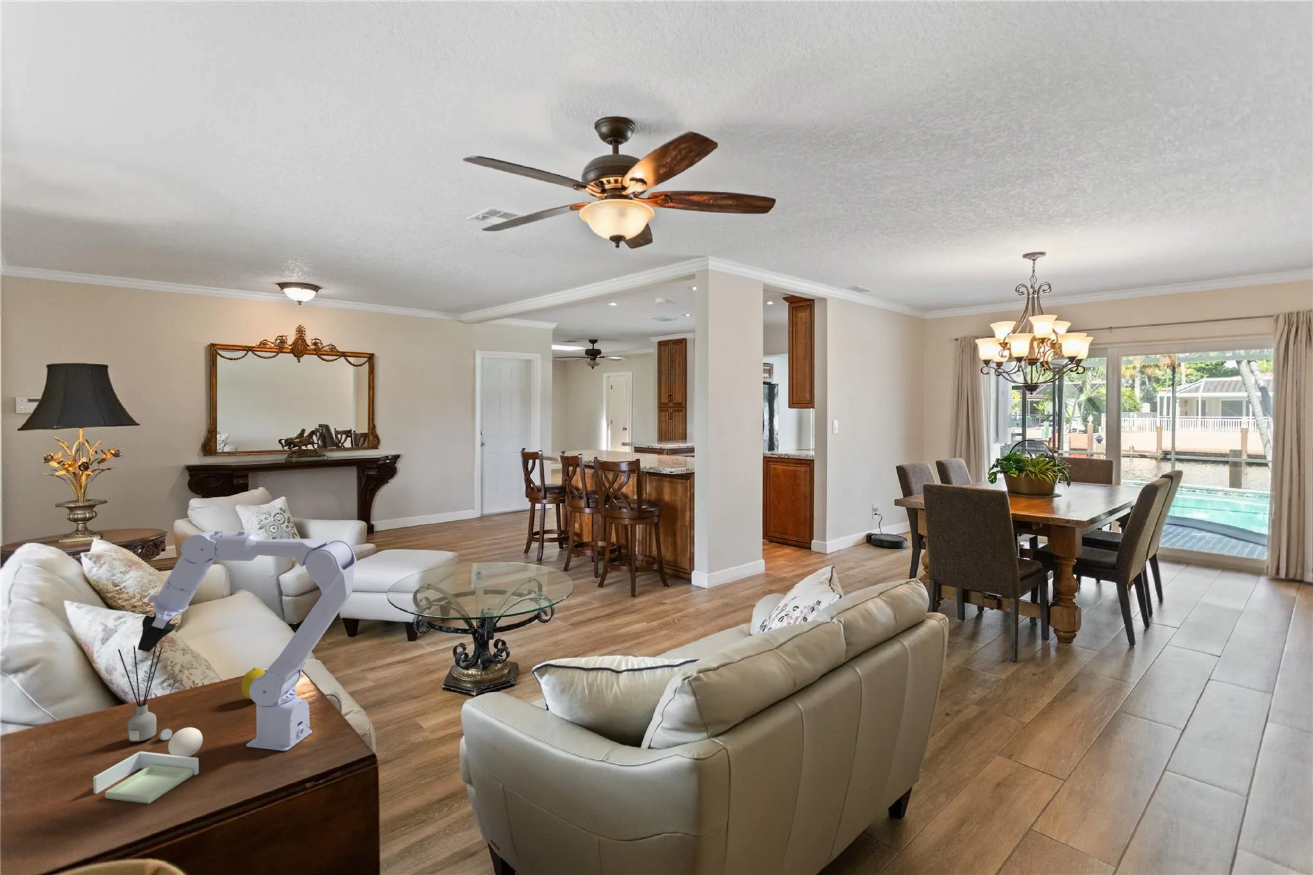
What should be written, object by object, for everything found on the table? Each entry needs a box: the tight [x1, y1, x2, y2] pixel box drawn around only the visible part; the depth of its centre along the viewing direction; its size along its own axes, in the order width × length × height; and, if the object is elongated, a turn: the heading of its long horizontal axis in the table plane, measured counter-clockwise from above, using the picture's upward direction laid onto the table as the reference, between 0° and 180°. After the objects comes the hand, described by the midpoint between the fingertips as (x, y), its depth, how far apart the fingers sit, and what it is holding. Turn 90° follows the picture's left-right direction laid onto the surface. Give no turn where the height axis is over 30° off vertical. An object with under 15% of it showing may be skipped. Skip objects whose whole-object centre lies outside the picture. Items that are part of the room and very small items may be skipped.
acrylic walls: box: [92, 750, 200, 794], centre depth 120 cm, size 13×9×3 cm
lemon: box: [241, 667, 266, 700], centre depth 153 cm, size 6×6×8 cm
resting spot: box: [104, 764, 194, 805], centre depth 119 cm, size 9×9×1 cm
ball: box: [167, 726, 204, 757], centre depth 129 cm, size 6×6×6 cm
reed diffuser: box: [117, 643, 173, 743], centre depth 135 cm, size 10×7×20 cm
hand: (149, 640), depth 133 cm, fingers open, 7 cm apart
